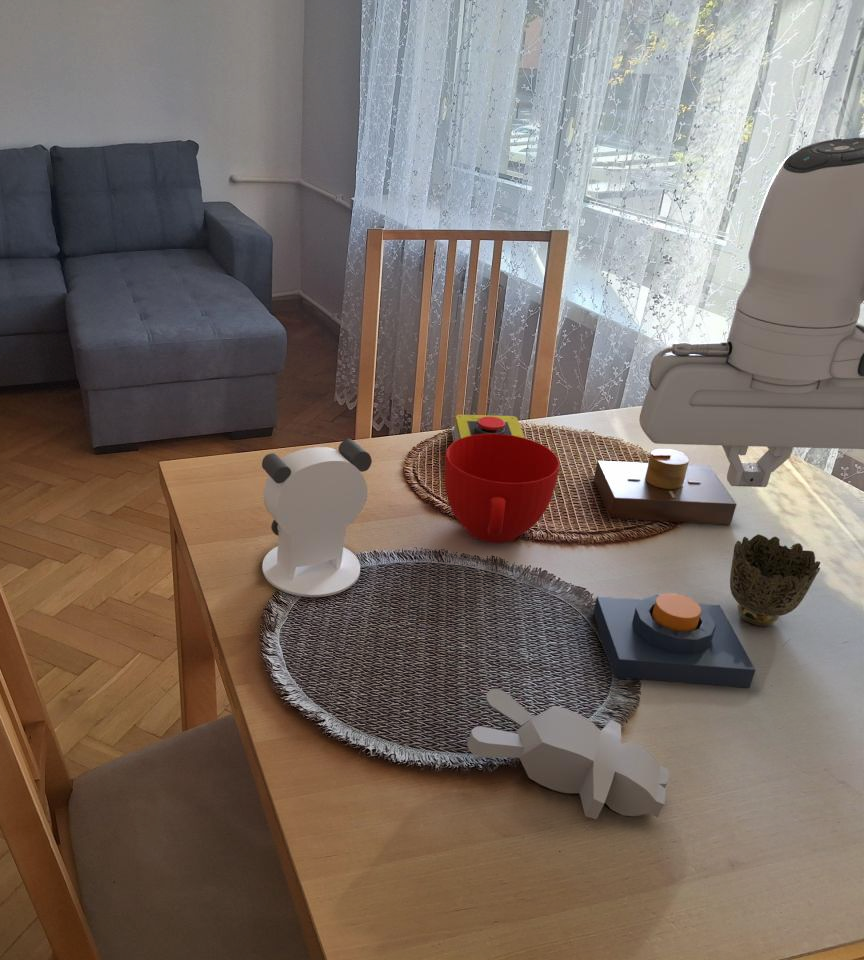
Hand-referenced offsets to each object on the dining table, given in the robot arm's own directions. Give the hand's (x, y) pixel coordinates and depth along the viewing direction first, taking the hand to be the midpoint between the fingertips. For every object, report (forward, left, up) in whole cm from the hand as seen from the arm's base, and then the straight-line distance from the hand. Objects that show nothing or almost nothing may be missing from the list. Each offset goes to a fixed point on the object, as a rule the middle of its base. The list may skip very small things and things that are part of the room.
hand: (745, 483), depth 80 cm
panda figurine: (+40, -6, -17) cm, 44 cm away
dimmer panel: (-3, -26, -17) cm, 31 cm away
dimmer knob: (-3, -26, -14) cm, 30 cm away
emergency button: (+17, -38, -17) cm, 46 cm away
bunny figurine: (+17, +22, -17) cm, 33 cm away
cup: (-6, -2, -17) cm, 18 cm away
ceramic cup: (+19, -15, -17) cm, 30 cm away
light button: (+4, +4, -13) cm, 15 cm away
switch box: (+4, +4, -17) cm, 18 cm away
